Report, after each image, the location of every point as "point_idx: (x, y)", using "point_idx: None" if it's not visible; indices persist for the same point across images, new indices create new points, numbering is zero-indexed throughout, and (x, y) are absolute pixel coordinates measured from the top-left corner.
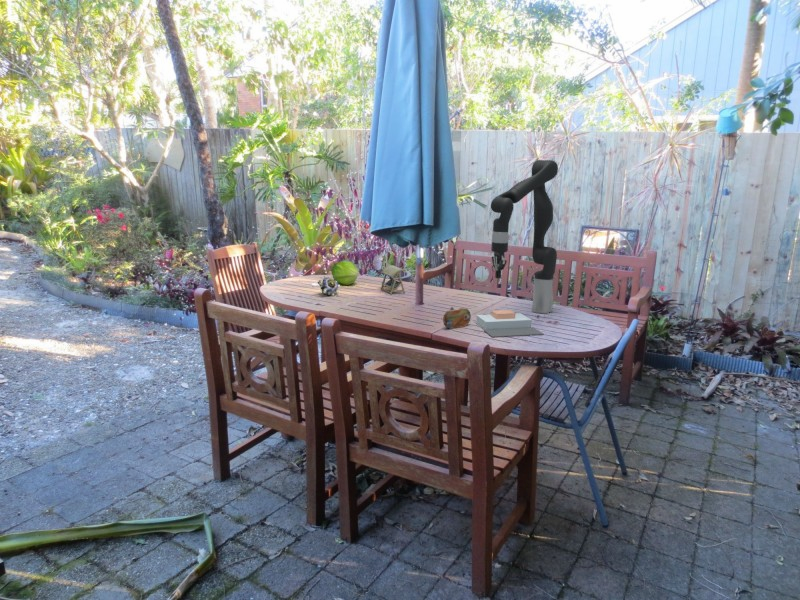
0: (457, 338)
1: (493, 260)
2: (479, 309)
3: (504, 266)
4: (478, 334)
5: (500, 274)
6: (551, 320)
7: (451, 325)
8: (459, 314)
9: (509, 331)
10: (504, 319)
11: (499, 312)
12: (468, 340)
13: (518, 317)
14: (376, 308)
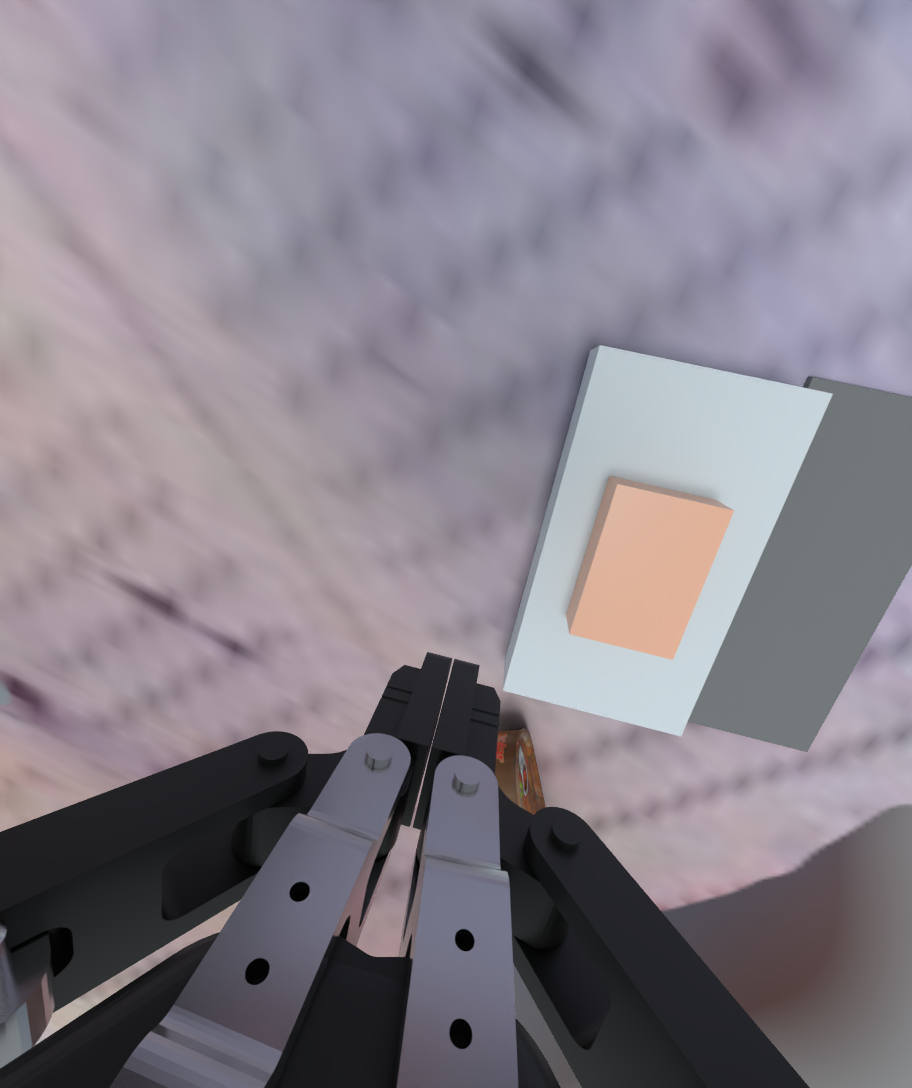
0: (706, 883)
1: (71, 992)
2: (199, 442)
3: (688, 951)
4: (706, 770)
5: (497, 727)
6: (703, 14)
7: None
8: None
9: (786, 603)
10: None
11: (644, 616)
12: (766, 863)
13: (707, 454)
14: None
